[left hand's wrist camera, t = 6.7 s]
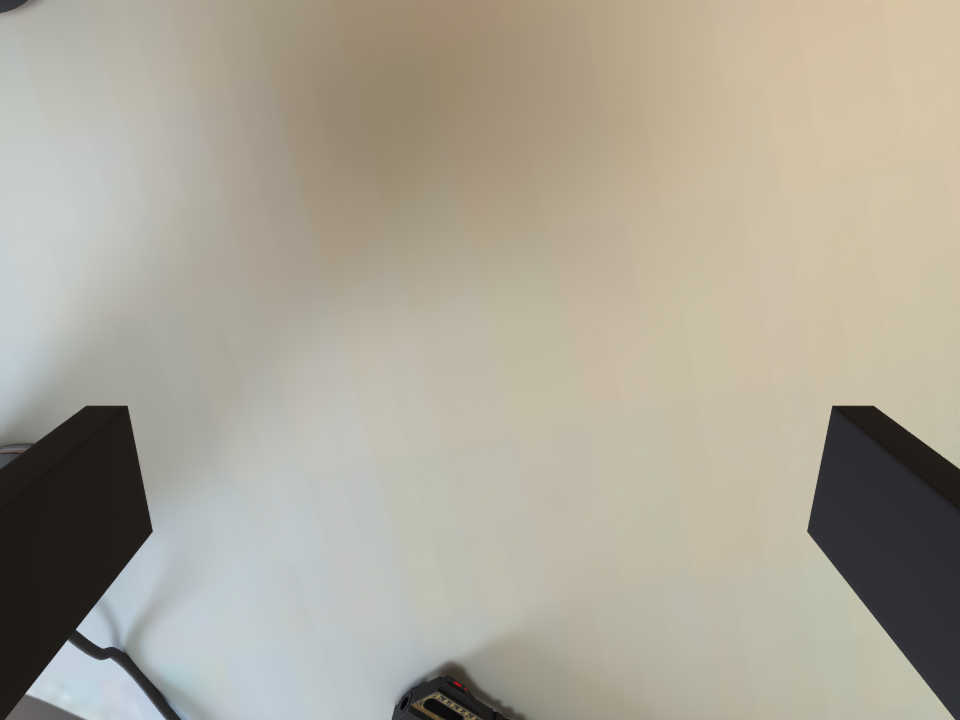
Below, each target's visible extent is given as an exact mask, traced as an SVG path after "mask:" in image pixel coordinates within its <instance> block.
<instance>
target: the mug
mask: <svg viewBox="0 0 960 720" xmlns="http://www.w3.org/2000/svg"><path fill="white" fill-rule="evenodd" d="M26 1H28V0H0V13H2V12H6V11H9V10H12V9H15V8H17V7H18V6H20V5H22V4H24V3H25V2H26Z"/></svg>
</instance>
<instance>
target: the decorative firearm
mask: <svg viewBox="0 0 960 720" xmlns="http://www.w3.org/2000/svg"><path fill="white" fill-rule="evenodd" d="M392 720H510V719H505V718H504V717H503V715H502V714H500V713H498V712H494V711H493V709H492V708H490V707H488V706H486V705H485V704H483V703H482V702H480V701H478V700H477V699H475V697H474V696H473V695H472V694H471V693H470V692H469V691H468V690H467V689H466V687H465V686H464V685H463V684H460V683H458V682H457V681H455V679H453V678H452V677H449V676H446V677H443V678H442V677H440V676H439V677H437V678H435V679H433V680H431V681H429V682H427V683H425V684H423V685H421V686H419V687H417V688H413V687H412V688H411V689H410V690H409V691H408V692H407V693H406V694H405V695H404V696H403V697H402V698H401V700H400V702H399V704H398V705H395V708H394V712H393V716H392Z"/></svg>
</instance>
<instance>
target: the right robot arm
mask: <svg viewBox="0 0 960 720" xmlns="http://www.w3.org/2000/svg"><path fill="white" fill-rule="evenodd" d="M31 446H32V445H12V446H6V447H2V448H0V469H1V468H3V467H4V466H5V465H7V464H8V463H9V462H11V461H12V460H13V459H15V458H16V457H18V456H19V455H20V454H22V453H23V452H24V451H26V450H27V449H28V448H30V447H31ZM68 641H69V642H71V643H72V644H73V645H74V646H76V647H77V648H78V649H80V650H81V651H83V652H84V653H86V654H87V655H89V656H91V657H93V658H95V659H98V660H104V659H108V658H111V659H113V660H114V661H115V662H117V663H118V664H119V665H120V666H121V667H122V668H123V669H124V670H125V671H126V672H127V673H128V674H129V675H130V676H131V677H132V678H133V679H134V680H135V682H136V683H137V684H138V685H139V686H140V688H141V689H142V690H143V691H144V693H145V694H146V695H147V696H148V698H149V699H150V700H151V702H152V703H153V704H154V705H155V707H156V708H157V709H158V711H159V712H160V713H161V714H162V716H163V717H164V718H165V719H166V720H181V719H180V718H179V717H178V715H177V714H176V713H175V712H174V711H173V709H172V708H171V707H170V706H169V705H168V703H167V702H166V701H165V699H164V698H163V697H162V696H161V694H160V693H159V692H158V690H157V689H156V688H155V687H154V686H153V684H152V683H151V682H150V681H149V680H148V679H147V678H146V677H145V675H144V674H143V673H142V672H141V671H140V670H139V669H138V667H137V666H136V665H135V664H134V663H133V662H132V660H131V659H130V658H129V657H128V656H127V655H125V654H124V653H123V652H121V651H120V650H119V649H117V648H114V647H108V648H105V649H102V648H100V647H98V646H96V645H95V644H93V643H92V642H91V641H89V640H88V639H87V638H85V637H84V636H83V635H81V634H80V633H79V632H78V631H77V630H75V631H74V632H73V633H72V635H71V636H70V637H69V639H68Z"/></svg>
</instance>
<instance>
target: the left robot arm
mask: <svg viewBox="0 0 960 720" xmlns="http://www.w3.org/2000/svg"><path fill="white" fill-rule="evenodd" d="M152 532H153V530H152V525H151V520H150V515H149V510H148V505H147V500H146V495H145V490H144V485H143V480H142V475H141V470H140V465H139V460H138V455H137V450H136V445H135V440H134V435H133V430H132V425H131V420H130V415H129V410H128V406H85V407H84V408H83V409H81V410H80V411H79V412H77V413H76V414H75V415H73V416H72V417H71V418H69V419H68V420H66V421H65V422H64V423H62V424H61V425H60V426H58V427H57V428H56V429H54V430H53V431H52V432H50V433H49V434H47V435H46V436H45V437H43V438H42V439H41V440H39V441H38V442H37V443H35V444H34V445H32V446H31V447H30V448H28V449H27V450H26V451H24V452H23V453H22V454H20V455H19V456H18V457H16V458H15V459H13V460H12V461H11V462H9V463H8V464H7V465H5V466H4V467H3V468H1V469H0V720H5V719H6V717H7V716H8V715H9V714H10V712H11V711H12V710H13V708H14V707H15V706H16V705H17V703H18V702H19V701H20V699H21V698H22V697H23V696H24V694H25V693H26V692H27V691H28V689H29V688H30V687H31V686H32V684H33V683H34V682H35V680H36V679H37V678H38V677H39V675H40V674H41V673H42V672H43V670H44V669H45V668H46V667H47V665H48V664H49V663H50V661H51V660H52V659H53V658H54V656H55V655H56V654H57V653H58V651H59V650H60V649H61V647H62V646H63V645H64V644H65V642H66V641H67V640H68V639H69V637H70V636H71V635H72V633H73V632H74V631H75V630H76V628H77V627H78V626H79V625H80V623H81V622H82V621H83V620H84V618H85V617H86V616H87V614H88V613H89V612H90V611H91V609H92V608H93V607H94V606H95V604H96V603H97V602H98V600H99V599H100V598H101V597H102V595H103V594H104V593H105V592H106V590H107V589H108V588H109V587H110V585H111V584H112V583H113V581H114V580H115V579H116V578H117V576H118V575H119V574H120V573H121V571H122V570H123V569H124V567H125V566H126V565H127V564H128V562H129V561H130V560H131V559H132V557H133V556H134V555H135V553H136V552H137V551H138V550H139V548H140V547H141V546H142V545H143V543H144V542H145V541H146V540H147V538H148V537H149V536H150V534H151V533H152ZM807 532H808V533H809V534H810V536H811V537H812V538H813V540H814V541H815V542H816V543H817V545H818V546H819V547H820V548H821V550H822V551H823V552H824V553H825V555H826V556H827V557H828V559H829V560H830V561H831V562H832V564H833V565H834V566H835V567H836V569H837V570H838V571H839V573H840V574H841V575H842V576H843V578H844V579H845V580H846V581H847V583H848V584H849V585H850V587H851V588H852V589H853V590H854V592H855V593H856V594H857V595H858V597H859V598H860V599H861V600H862V602H863V603H864V604H865V606H866V607H867V608H868V609H869V611H870V612H871V613H872V614H873V616H874V617H875V618H876V620H877V621H878V622H879V623H880V625H881V626H882V627H883V628H884V630H885V631H886V632H887V633H888V635H889V636H890V637H891V639H892V640H893V641H894V642H895V644H896V645H897V646H898V647H899V649H900V650H901V651H902V653H903V654H904V655H905V656H906V658H907V659H908V660H909V661H910V663H911V664H912V665H913V667H914V668H915V669H916V670H917V672H918V673H919V674H920V675H921V677H922V678H923V679H924V680H925V682H926V683H927V684H928V686H929V687H930V688H931V689H932V691H933V692H934V693H935V694H936V696H937V697H938V698H939V700H940V701H941V702H942V703H943V705H944V706H945V707H946V708H947V710H948V711H949V712H950V714H951V715H952V716H953V717H954V719H955V720H960V469H959V468H957V467H956V466H955V465H953V464H952V463H951V462H949V461H948V460H947V459H945V458H944V457H942V456H941V455H940V454H938V453H937V452H936V451H934V450H933V449H932V448H930V447H929V446H927V445H926V444H925V443H923V442H922V441H921V440H919V439H918V438H917V437H915V436H914V435H913V434H911V433H910V432H908V431H907V430H906V429H904V428H903V427H902V426H900V425H899V424H898V423H896V422H895V421H894V420H892V419H891V418H889V417H888V416H887V415H885V414H884V413H883V412H881V411H880V410H879V409H877V408H876V407H875V406H832V410H831V415H830V420H829V425H828V430H827V435H826V440H825V445H824V450H823V455H822V460H821V465H820V470H819V475H818V480H817V485H816V490H815V495H814V500H813V505H812V510H811V515H810V520H809V525H808V530H807Z"/></svg>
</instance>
